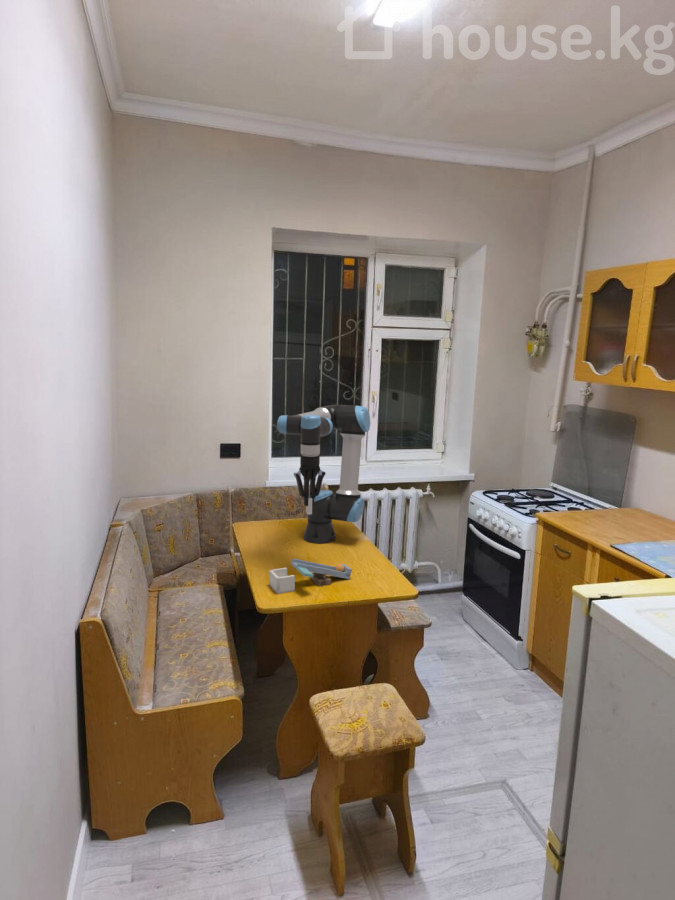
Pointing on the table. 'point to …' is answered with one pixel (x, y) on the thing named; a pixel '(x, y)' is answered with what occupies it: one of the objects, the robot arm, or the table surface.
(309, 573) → the lever
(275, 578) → the bin
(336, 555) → the table surface
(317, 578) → the brown recessed block
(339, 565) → the ball
